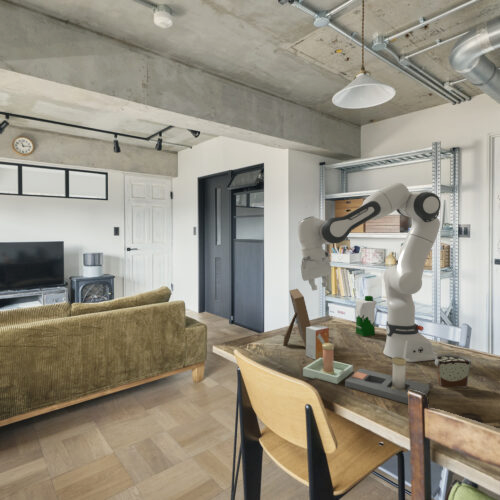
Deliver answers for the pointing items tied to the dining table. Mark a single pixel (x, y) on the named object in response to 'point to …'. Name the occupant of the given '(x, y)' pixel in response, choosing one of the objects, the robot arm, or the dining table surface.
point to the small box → (316, 340)
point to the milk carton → (365, 316)
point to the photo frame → (298, 316)
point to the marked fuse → (328, 358)
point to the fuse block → (382, 385)
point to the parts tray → (316, 372)
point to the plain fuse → (398, 373)
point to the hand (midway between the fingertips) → (320, 288)
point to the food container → (452, 370)
